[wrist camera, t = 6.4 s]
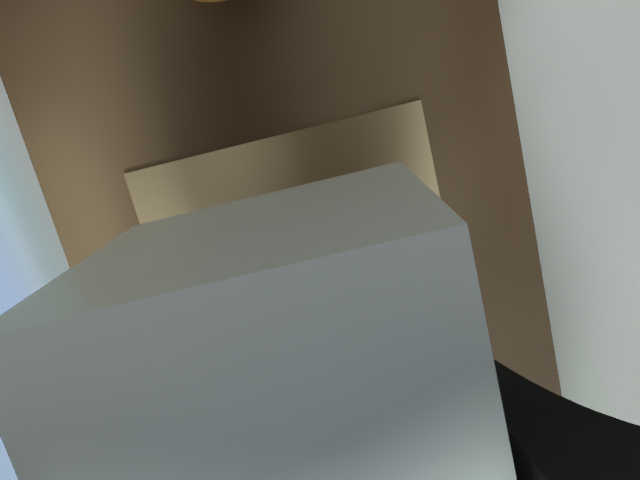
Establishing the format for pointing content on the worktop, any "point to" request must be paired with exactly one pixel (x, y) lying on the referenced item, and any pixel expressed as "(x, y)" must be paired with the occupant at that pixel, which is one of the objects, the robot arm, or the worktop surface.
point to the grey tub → (263, 346)
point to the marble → (210, 0)
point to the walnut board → (279, 121)
